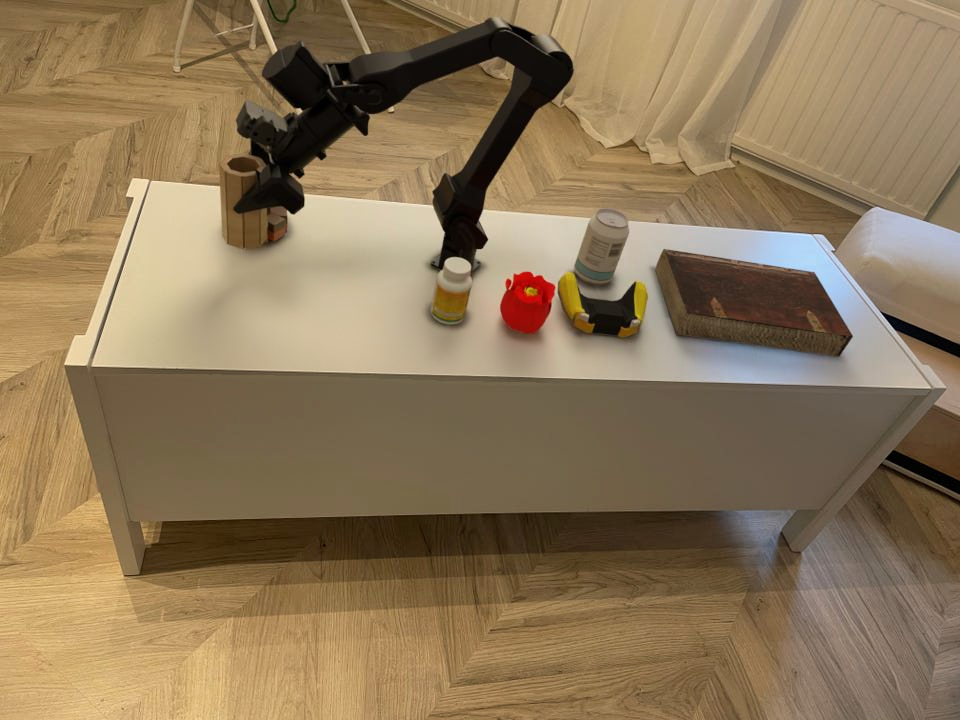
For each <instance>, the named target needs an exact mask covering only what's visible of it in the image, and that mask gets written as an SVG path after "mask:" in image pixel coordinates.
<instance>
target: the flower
mask: <svg viewBox="0 0 960 720" xmlns="http://www.w3.org/2000/svg"><path fill="white" fill-rule="evenodd" d="M512 275H513V276H512V279H510V278H509V277H508V278H506V280H505V283H504V285H505V289H506V290H505V291H504V293H503V296H502V299H501V301H500V305H499V310H500V311H499V312H500V315H501V318H502V320H503V322H504V323H505V325H506V326H507V327H508V328H509V329H510V330H512V331H516V332H519V333H522V334H527V335H528V334H529V335H531V334H536V333H537V332H538V331H539V330H540V329H541V328H542V327H543V326H544V324H545V322H546V321H547V319H548V318H549V316H550V314H551V310H552V304H553V298H554V297H555V295H556V293H555V291H556V285H555V284H554V283H552V282H549V281H547V280H546V279H545V278H544V276H543V275H541V274H538V275H535V276H534V274H533V273H532V272H531V271H528V270H527V271H526V270H525V271H522V272H520V273H518V274H517V273H513V274H512Z"/></svg>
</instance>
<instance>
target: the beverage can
mask: <svg viewBox="0 0 960 720" xmlns="http://www.w3.org/2000/svg"><path fill="white" fill-rule="evenodd" d="M629 223H630V222H629V218H628V217H627V216H626V215H625V214H624V213H623V212H621V211H619V210H616V209H613V208H600V209H598V210H597V211H596V212H595V214H594V215H592V216H591V217H590V218H589V220H588V223H587V226H586V229H585V232H584V235H583V238H582V240H581V244H580V247H579V251H578V252H577V257H576V259H575V263H574V265H573V269H574V272H575V273H576V275H577V276H578V277H579V278H580V279H581V280H582V281H583V282H585V283H587V284H591V285H596V286H597V285H601V284H606V283H609V282H611V281H612V280H613V277H614V275H615V273H616V270H617V267H618V264H619V261H620V259H621V257H622V253H623V252H624V248H625V246H626V243H627V240H628V238H629V235H630V226H629Z"/></svg>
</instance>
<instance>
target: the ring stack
mask: <svg viewBox="0 0 960 720" xmlns="http://www.w3.org/2000/svg"><path fill="white" fill-rule="evenodd" d="M287 232H288V211H287V210H286V209H285V208H284V207H283V206H279V207H271V208H267V239H266V240H265V241H264V243H263V244H269V240H271V241H272V242H276V241H278V240H279V239H281V238H283V237H285V236H286V233H287Z"/></svg>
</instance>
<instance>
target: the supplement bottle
mask: <svg viewBox="0 0 960 720" xmlns="http://www.w3.org/2000/svg"><path fill="white" fill-rule="evenodd" d="M470 272H471V265H470V263H469V262H468V261H467V260H465V259H463V258H459V257H451V258H448V259H447V260H446V261H445V263H444V267H443V270H439V271H438V274H437V275H436V279H435V284H434V290H433V296H432V300H431V305H430V314H431V316H432V318H433V319H434V320H436V321H437V322H439V323H440V324H444V325H450V326H451V325H457V324H459V323H461V322H462V321H463V320H464V319H465V317H466V312H467V308H468V303H469V299H470V295H471V291H472V287H473V279H472V277H471V274H470Z"/></svg>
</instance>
